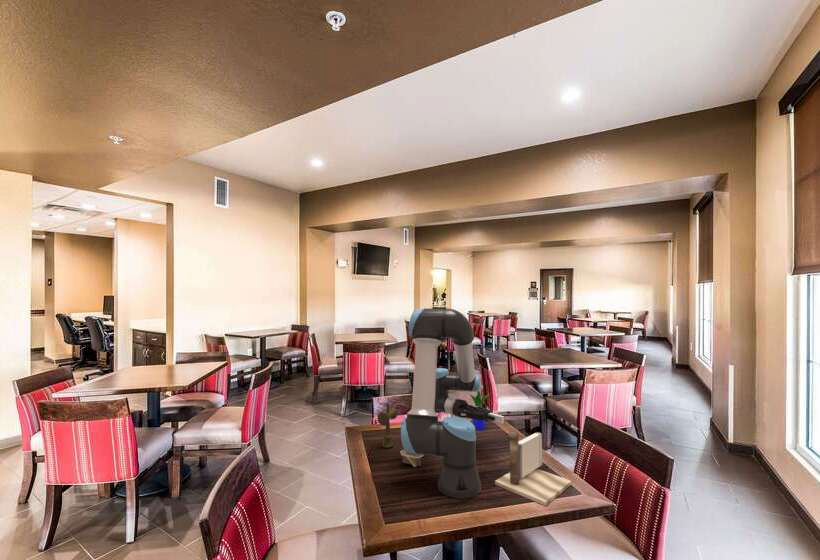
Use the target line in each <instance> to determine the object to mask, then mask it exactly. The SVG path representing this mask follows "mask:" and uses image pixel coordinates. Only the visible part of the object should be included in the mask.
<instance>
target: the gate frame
mask: <svg viewBox="0 0 820 560" xmlns="http://www.w3.org/2000/svg"><path fill="white" fill-rule="evenodd" d="M508 438H509V472H508V473H506V474H504V475H503V476H501V477H499V478H498V479H496V480H495V481H494V484H495V486H498V487H500V488H502V489H504V490H507V491H509V492H512V493H514V494H516V495H519V496H521V497H524V498H525V499H529V500H530V501H532V502H536V503H538V504H540V505H543V506H545V507H547V505H549V504H550V503H552V501H554V500H555V499H556V498H558V497H559V496H560V495H561V494H562V493H563V492H564V491H565V490H567V489H569V487H570V486H572V483H573V482H572V480H569V479H567V478H566V477H565V478H564V477H562V476H559V475H556V474H553V473H551V472H547V471H545V470H542V469H539V468H537V469H535V470H534V471H532V472H531V473H529V474H528V475H526V476H525V477H523V478H522V479H519V448H518V442H519V438H520V434H519V432H517V431H516V430H511V431H509V433H508Z"/></svg>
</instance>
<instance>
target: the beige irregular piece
mask: <svg viewBox="0 0 820 560" xmlns="http://www.w3.org/2000/svg"><path fill="white" fill-rule="evenodd" d="M399 452H400V455H401V456H402V463H403V464H409V465H412V466H413V467H414V468H417V466H418V467H421V466H422V457H424V456H425V455H423V454H414V453H408V452H406V451H405V450H404V449H401V450H400V451H399Z"/></svg>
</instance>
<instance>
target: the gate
mask: <svg viewBox="0 0 820 560" xmlns="http://www.w3.org/2000/svg"><path fill="white" fill-rule="evenodd" d="M518 448H519V479H522V478H523V477H525V476H526V475H528V474H529V473H531V472H532V471H534V470H535V469H539V468H540V467H541V466H542V465H543V434H542V433H541V432H538V431H536V432H534V433H533V434H531V435H528V436H527V437H524V438H522V439H521V440H518Z"/></svg>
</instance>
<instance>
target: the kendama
mask: <svg viewBox="0 0 820 560" xmlns="http://www.w3.org/2000/svg"><path fill="white" fill-rule="evenodd" d="M389 403H390V402H389V401H387V402H386V411H380V412H379V413H378V414H377V419H376V420H377V422H378V424H379V425H380V426H384V427H385V428H384V434H383V435H382V438H383V442H382V444H381V447H383V448H385V449H390V448H393V447H394V443H393V441H392V439H393V434H392V433H391V427H390V426H391V425H390V424H391V423H390V421H391V420H395V419H397V417H398V411H397V409H396V408H395V407H391V406H390V407H389Z"/></svg>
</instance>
